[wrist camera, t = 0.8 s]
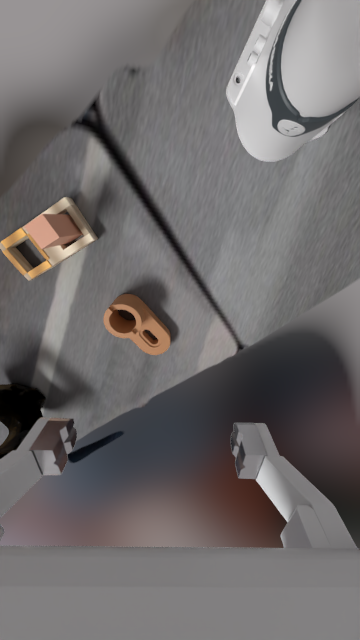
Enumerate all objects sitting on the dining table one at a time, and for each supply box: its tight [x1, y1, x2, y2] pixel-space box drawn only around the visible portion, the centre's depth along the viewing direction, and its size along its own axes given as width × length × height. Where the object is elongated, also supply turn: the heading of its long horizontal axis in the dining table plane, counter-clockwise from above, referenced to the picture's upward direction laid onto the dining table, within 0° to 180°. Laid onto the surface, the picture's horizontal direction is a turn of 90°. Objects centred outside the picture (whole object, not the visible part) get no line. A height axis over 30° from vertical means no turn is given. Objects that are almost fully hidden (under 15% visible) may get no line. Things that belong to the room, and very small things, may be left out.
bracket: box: [104, 294, 171, 355], centre depth 50 cm, size 18×8×7 cm, turn 38°
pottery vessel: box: [0, 384, 45, 459], centre depth 55 cm, size 25×11×20 cm, turn 32°
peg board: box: [0, 197, 98, 281], centre depth 43 cm, size 18×8×3 cm, turn 118°
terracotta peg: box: [24, 214, 83, 249], centre depth 39 cm, size 4×4×10 cm
